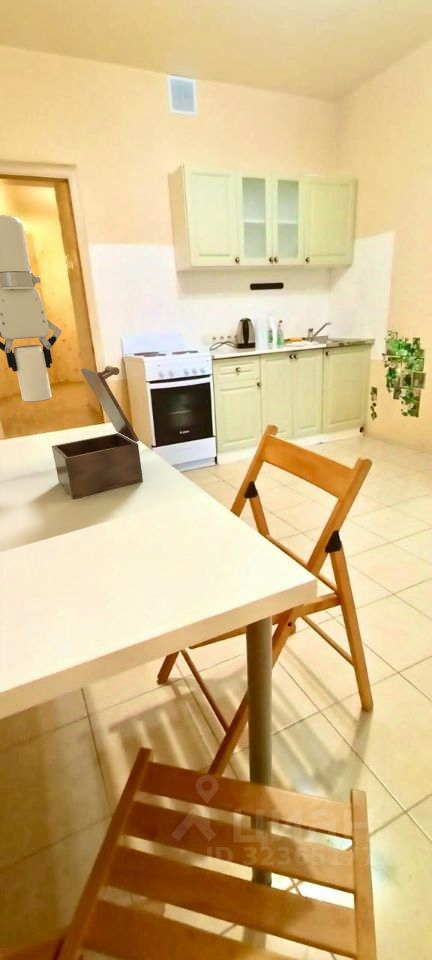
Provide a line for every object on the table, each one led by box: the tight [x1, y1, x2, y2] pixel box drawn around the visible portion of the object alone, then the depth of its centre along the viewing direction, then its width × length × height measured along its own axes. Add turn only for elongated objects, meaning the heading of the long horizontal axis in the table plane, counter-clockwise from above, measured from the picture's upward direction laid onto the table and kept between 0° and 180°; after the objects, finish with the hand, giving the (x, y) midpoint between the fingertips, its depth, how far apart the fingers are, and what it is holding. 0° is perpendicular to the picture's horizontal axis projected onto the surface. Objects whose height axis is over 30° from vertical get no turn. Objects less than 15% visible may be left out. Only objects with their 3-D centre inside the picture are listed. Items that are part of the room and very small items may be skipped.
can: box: [13, 344, 53, 403], centre depth 102 cm, size 6×6×12 cm
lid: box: [80, 365, 140, 443], centre depth 98 cm, size 16×13×5 cm
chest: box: [51, 432, 144, 500], centre depth 100 cm, size 16×13×9 cm
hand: (31, 368), depth 101 cm, fingers closed on can, 6 cm apart
